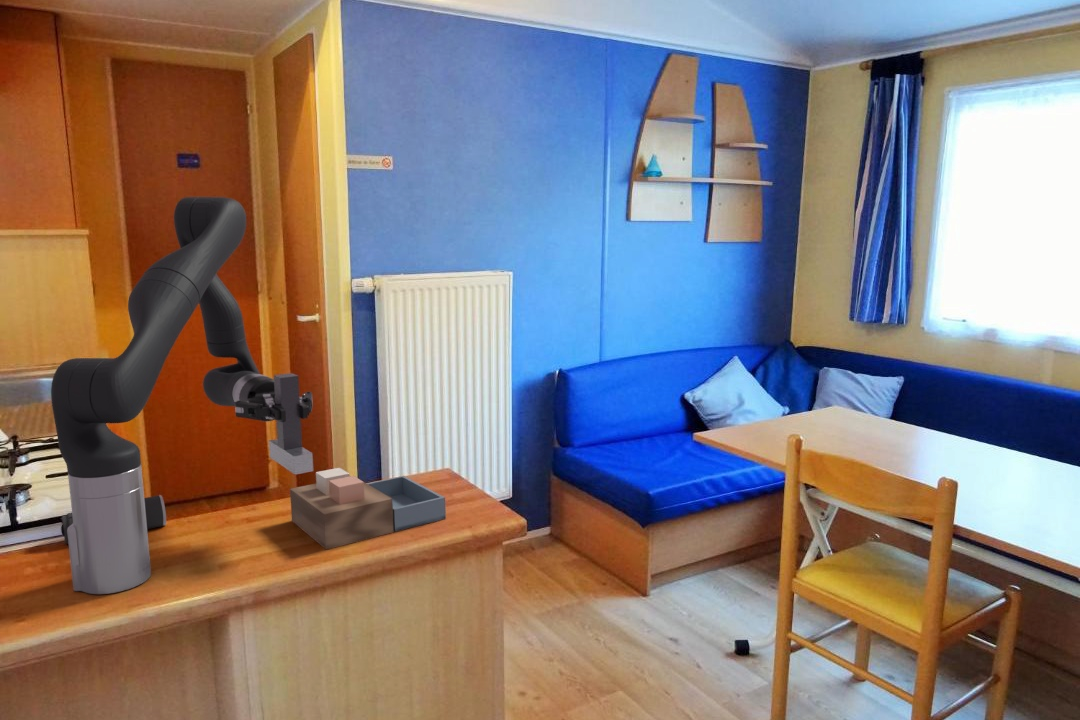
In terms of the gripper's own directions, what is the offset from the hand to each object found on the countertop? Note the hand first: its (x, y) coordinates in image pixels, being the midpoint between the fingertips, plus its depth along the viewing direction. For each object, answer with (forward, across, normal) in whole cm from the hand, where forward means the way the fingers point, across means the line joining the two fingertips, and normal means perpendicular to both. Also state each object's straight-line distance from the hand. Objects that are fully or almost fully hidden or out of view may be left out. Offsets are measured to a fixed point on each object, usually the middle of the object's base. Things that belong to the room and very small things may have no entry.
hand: (294, 414), depth 122 cm
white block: (-5, +8, +16) cm, 19 cm away
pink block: (+1, +8, +16) cm, 18 cm away
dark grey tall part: (-3, 0, +9) cm, 10 cm away
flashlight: (-24, -24, +22) cm, 40 cm away
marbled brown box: (-2, +8, +22) cm, 23 cm away
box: (-2, +19, +22) cm, 29 cm away
